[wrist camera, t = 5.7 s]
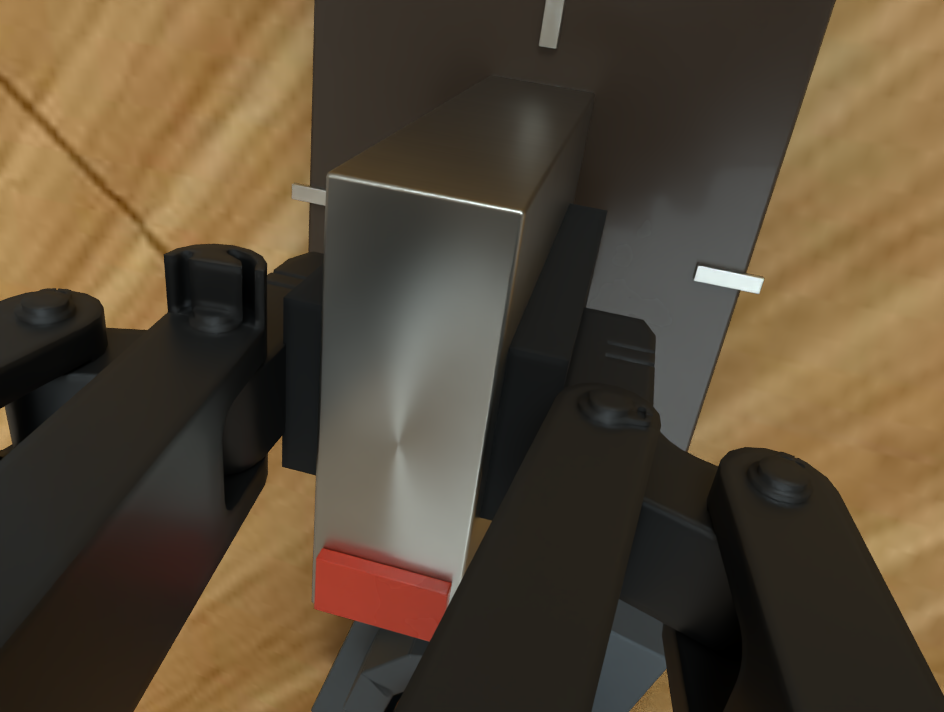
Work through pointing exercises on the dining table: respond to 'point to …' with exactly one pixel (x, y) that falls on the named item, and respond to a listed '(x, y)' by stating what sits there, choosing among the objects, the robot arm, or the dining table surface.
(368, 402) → the silver rectangular block
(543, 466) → the robot arm
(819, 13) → the plate
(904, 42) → the dining table surface
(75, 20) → the dining table surface
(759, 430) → the dining table surface
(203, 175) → the dining table surface
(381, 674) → the grey button base
